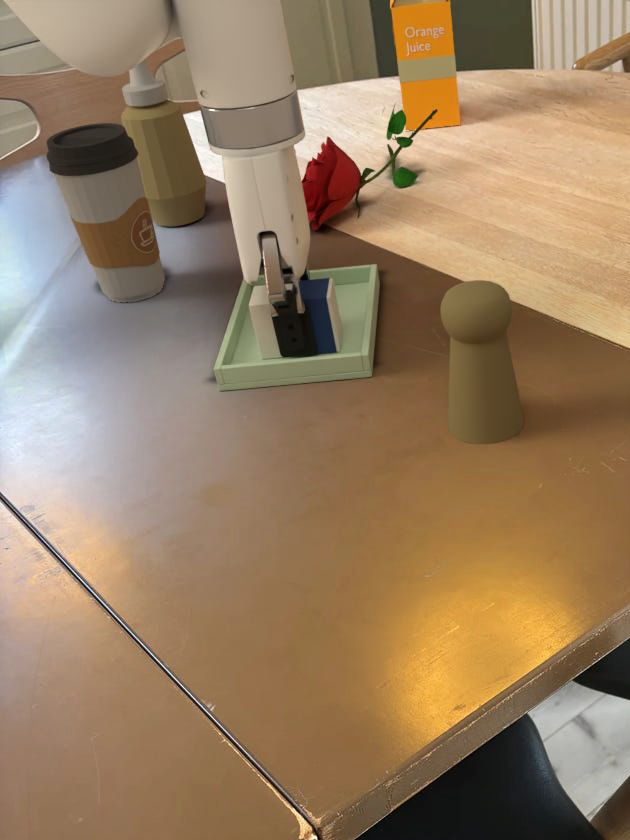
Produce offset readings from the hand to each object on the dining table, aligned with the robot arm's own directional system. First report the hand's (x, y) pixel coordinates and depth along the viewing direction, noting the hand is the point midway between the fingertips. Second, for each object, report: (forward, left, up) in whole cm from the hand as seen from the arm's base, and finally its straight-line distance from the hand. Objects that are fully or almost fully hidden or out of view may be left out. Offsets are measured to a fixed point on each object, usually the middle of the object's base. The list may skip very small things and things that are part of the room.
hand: (301, 340), depth 90 cm
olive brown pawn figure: (+16, -15, -1) cm, 22 cm away
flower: (+5, +41, -1) cm, 41 cm away
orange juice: (+12, +68, -1) cm, 69 cm away
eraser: (0, 0, -1) cm, 1 cm away
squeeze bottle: (-18, +38, -1) cm, 42 cm away
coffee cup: (-19, +18, -1) cm, 26 cm away
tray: (0, +4, -1) cm, 4 cm away
